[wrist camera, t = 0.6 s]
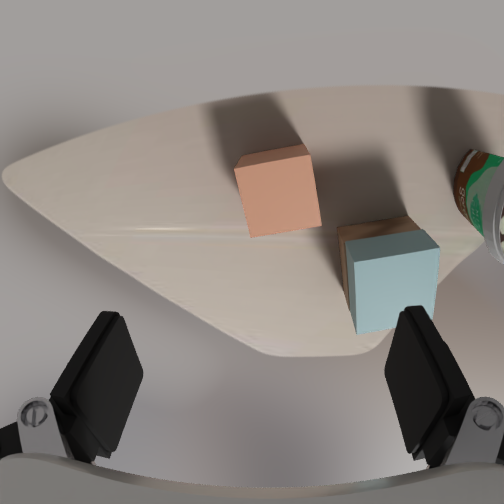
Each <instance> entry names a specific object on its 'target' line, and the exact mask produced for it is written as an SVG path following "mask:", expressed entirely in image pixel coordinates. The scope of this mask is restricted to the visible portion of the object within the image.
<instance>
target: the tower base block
mask: <svg viewBox="0 0 504 504" xmlns="http://www.w3.org/2000/svg"><path fill="white" fill-rule="evenodd" d="M415 230H421V229H420V228H419V227H418V225H417V224H416V223H415V222H414V221H413V220H412V219H411V218H410V217H409V216H403V217H397V218H391V219H385V220H379V221H373V222H367V223H361V224H355V225H349V226H343V227H337V232H338V241H339V249H340V259H341V268H342V278H343V289H344V294H345V298H346V301H347V305H348V308H349V311H350V303H349V285H348V270H347V256H346V244H345V241H351V240H358V239H364V238H370V237H377V236H383V235H389V234H396V233H402V232H408V231H415Z"/></svg>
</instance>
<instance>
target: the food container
mask: <svg viewBox="0 0 504 504" xmlns="http://www.w3.org/2000/svg"><path fill="white" fill-rule="evenodd" d="M454 197H455V202H456V205H457V207H458V209H459V211H460V212H461V214H462V215H463V216H464V217H465V218H466V219H467V220H468V221H469V222H470V223H471V224H472V225H473V226H474V227H475V228H476V229H477V230H478V231H479V232H480V233H481V235H482V236H483V237H484V239H485V242H486V246H487V248H488V250H489V252H490V253H491V255H492V256H493V257H494V258H495V259H496V260H497V261H499V262H501V263H502V264H504V157H500V156H496V155H493V154H489V153H485V152H481V151H477V150H473V149H471V150H470V151H469V152H468V153H467V154H466V155H465V156H464V157H463V159H462V161H461V162H460V164H459V166H458V168H457V172H456V175H455V179H454Z"/></svg>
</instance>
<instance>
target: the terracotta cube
mask: <svg viewBox="0 0 504 504" xmlns="http://www.w3.org/2000/svg"><path fill="white" fill-rule="evenodd" d="M234 171H235V175H236V180H237V184H238V188H239V192H240V196H241V200H242V204H243V208H244V212H245V216H246V220H247V225H248V229H249V233H250V237H251V238H252V237H258V236H264V235H270V234H276V233H282V232H287V231H293V230H299V229H305V228H311V227H317V226H322V224H321V217H320V210H319V204H318V197H317V191H316V185H315V179H314V173H313V167H312V162H311V156H310V153H309V152H308V150H307V148H306V147H305V145H304V144H301V145H295V146H289V147H284V148H278V149H273V150H268V151H263V152H257V153H252V154H248V155H243V156H241V158H240V159H239V161H238V163H237V165H236V166H235V168H234Z"/></svg>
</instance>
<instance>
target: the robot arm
mask: <svg viewBox="0 0 504 504" xmlns="http://www.w3.org/2000/svg"><path fill="white" fill-rule="evenodd" d="M142 378H143V369H142V366H141V364H140V361H139V358H138V356H137V353H136V351H135V348H134V345H133V343H132V340H131V337H130V334H129V332H128V329H127V326H126V323H125V320H124V318H123V317H122V316H120V315H119V313H118V312H111V311H102V312H101V313H100V314H99V316H98V317H97V319H96V320H95V322H94V323H93V325H92V326H91V328H90V329H89V331H88V332H87V334H86V335H85V337H84V339H83V340H82V342H81V343H80V345H79V347H78V348H77V350H76V351H75V353H74V355H73V356H72V358H71V359H70V361H69V363H68V364H67V366H66V368H65V369H64V371H63V373H62V374H61V376H60V378H59V379H58V381H57V383H56V385H55V386H54V388H53V390H52V392H51V393H50V395H51V398H50V399H49V401H48V400H47V399H45V398H42V397H35V398H31V399H30V400H28V401H26V402H25V403H24V404H23V405H22V406H21V408H20V409H19V411H18V414H17V422H14V423H12V424H10V425H8V426H5V427H3V428H1V429H0V504H504V407H503V406H502V405H501V404H500V403H499V402H498V401H497V400H495V399H493V398H490V397H480V398H477V399H475V398H474V396H473V393H472V391H471V390H470V388H469V385H468V383H467V381H466V379H465V377H464V375H463V374H462V371H461V370H460V368H459V366H458V364H457V362H456V360H455V358H454V356H453V355H452V353H451V351H450V349H449V347H448V345H447V344H446V343H445V342H444V341H443V340H442V338H441V336H440V334H439V332H438V331H437V329H436V327H435V326H434V324H433V322H432V320H431V318H430V317H429V315H428V313H427V312H426V310H425V308H424V307H423V306H422V305H416V306H407V307H405V309H404V311H401V312H400V313H399V317H398V321H397V325H396V329H395V333H394V337H393V340H392V344H391V347H390V351H389V354H388V358H387V361H386V365H385V378H386V381H387V384H388V387H389V390H390V393H391V397H392V400H393V403H394V407H395V410H396V414H397V417H398V420H399V424H400V428H401V431H402V435H403V439H404V442H405V446H406V450H407V452H408V453H409V454H410V453H412V456H413V459H414V461H415V460H419V459H423V458H425V459H426V462H427V464H428V466H427V468H426V469H425V470H421V471H417V472H412V473H407V474H403V475H397V476H392V477H386V478H380V479H373V480H367V481H360V482H353V483H345V484H335V485H324V486H311V487H292V488H291V487H289V488H246V487H226V486H212V485H201V484H192V483H183V482H175V481H169V480H162V479H156V478H151V477H145V476H140V475H135V474H130V473H125V472H121V471H116V470H112V469H108V468H103V467H99V466H96V463H95V461H94V460H95V457H96V455H97V456H102V457H105V458H110V456H111V453H112V452H114V451H115V450H116V449H117V446H118V444H119V441H120V438H121V435H122V432H123V429H124V427H125V424H126V421H127V418H128V416H129V413H130V410H131V408H132V405H133V402H134V400H135V397H136V394H137V392H138V389H139V386H140V384H141V381H142Z"/></svg>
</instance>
